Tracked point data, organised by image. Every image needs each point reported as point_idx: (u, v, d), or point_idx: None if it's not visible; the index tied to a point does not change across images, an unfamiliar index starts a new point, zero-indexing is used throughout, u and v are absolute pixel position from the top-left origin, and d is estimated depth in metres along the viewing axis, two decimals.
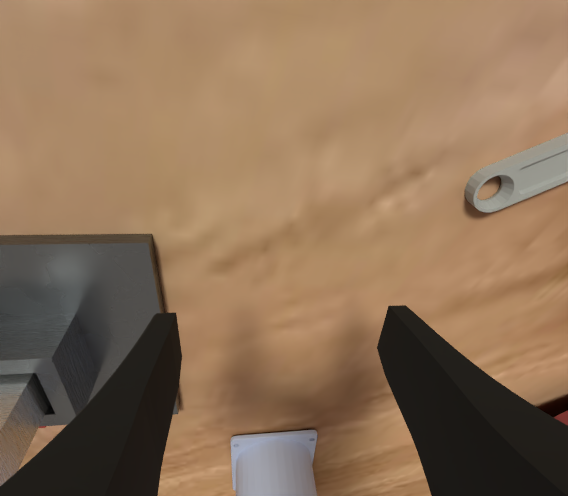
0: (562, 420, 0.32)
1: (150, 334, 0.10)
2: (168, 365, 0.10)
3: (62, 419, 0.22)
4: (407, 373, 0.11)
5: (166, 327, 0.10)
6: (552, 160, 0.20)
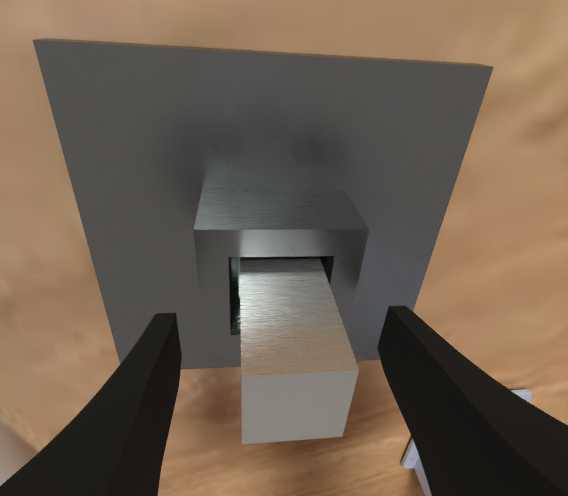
0: None
1: (150, 334, 0.10)
2: (168, 365, 0.10)
3: None
4: (407, 373, 0.11)
5: (166, 327, 0.10)
6: None
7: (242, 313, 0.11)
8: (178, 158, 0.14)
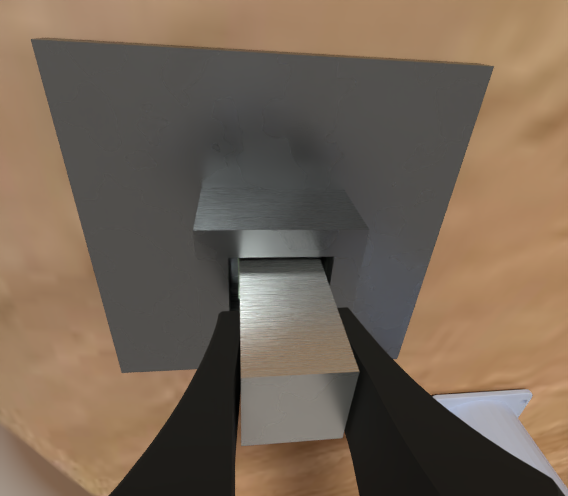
0: None
1: (223, 331, 0.10)
2: (239, 362, 0.11)
3: None
4: None
5: (236, 324, 0.11)
6: None
7: (242, 314, 0.11)
8: (177, 158, 0.14)
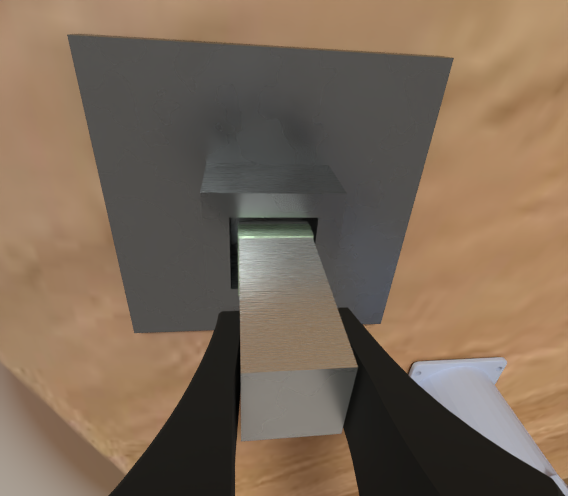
0: None
1: (223, 331, 0.10)
2: (239, 362, 0.11)
3: None
4: None
5: (236, 324, 0.11)
6: None
7: (241, 310, 0.11)
8: (186, 136, 0.16)
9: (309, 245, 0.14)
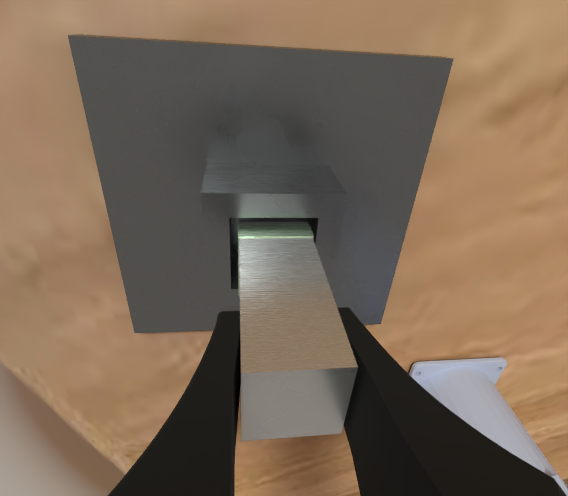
0: None
1: (222, 331, 0.10)
2: (238, 361, 0.11)
3: None
4: None
5: (236, 324, 0.11)
6: None
7: (241, 311, 0.11)
8: (186, 137, 0.16)
9: (309, 245, 0.14)
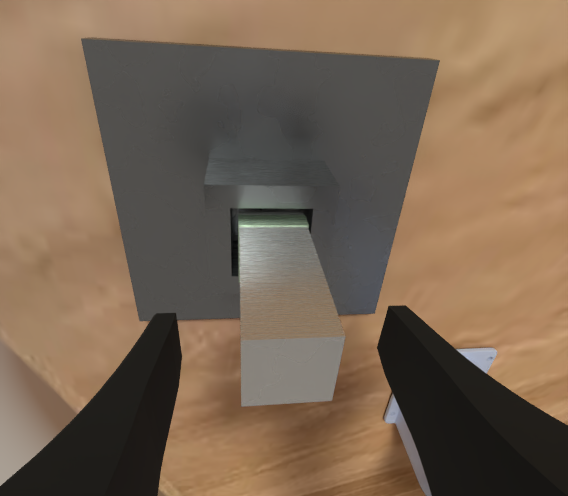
0: None
1: (150, 334, 0.10)
2: (168, 365, 0.10)
3: None
4: (407, 373, 0.11)
5: (166, 327, 0.10)
6: None
7: (241, 289, 0.12)
8: (190, 133, 0.18)
9: (304, 233, 0.15)
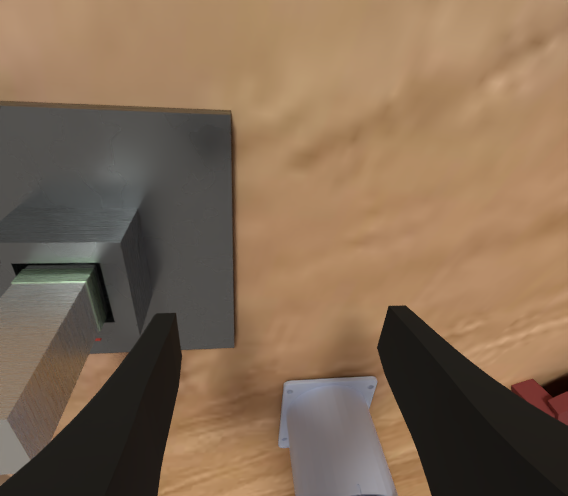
0: None
1: (150, 334, 0.10)
2: (168, 365, 0.10)
3: (121, 330, 0.19)
4: (407, 373, 0.11)
5: (166, 327, 0.10)
6: None
7: None
8: None
9: (74, 291, 0.16)
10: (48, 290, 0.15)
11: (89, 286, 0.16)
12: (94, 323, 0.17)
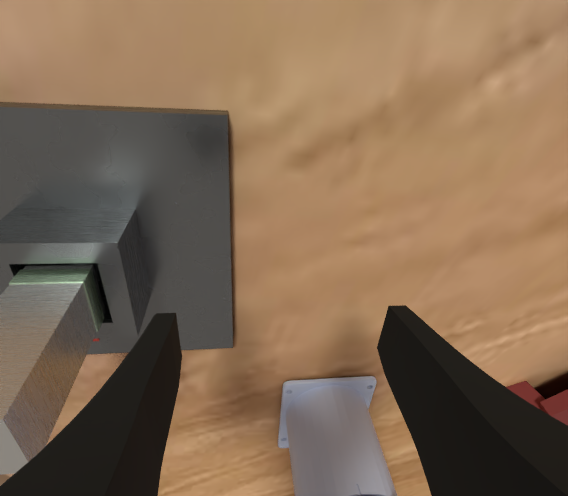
0: None
1: (150, 334, 0.10)
2: (168, 365, 0.10)
3: (119, 330, 0.19)
4: (407, 373, 0.11)
5: (166, 327, 0.10)
6: None
7: None
8: None
9: (71, 292, 0.16)
10: (45, 290, 0.16)
11: (87, 286, 0.17)
12: (92, 323, 0.17)
